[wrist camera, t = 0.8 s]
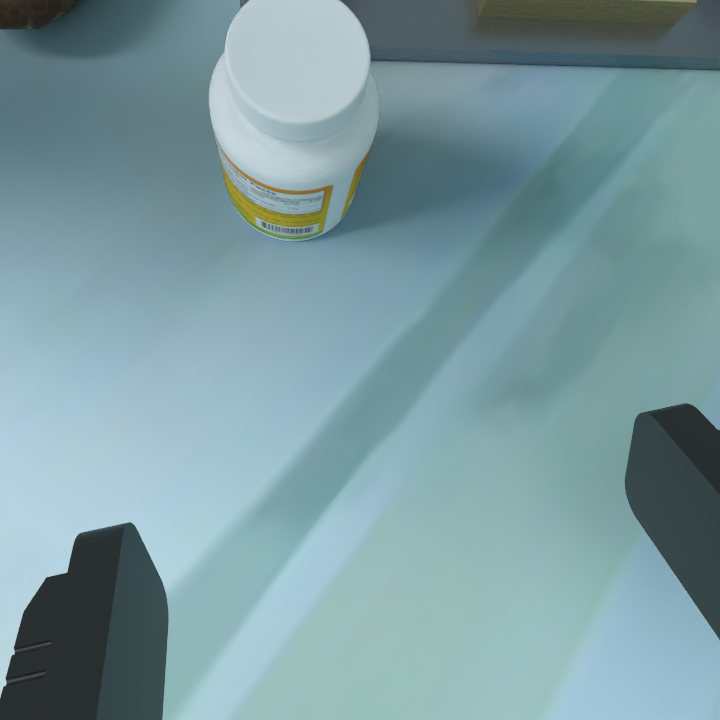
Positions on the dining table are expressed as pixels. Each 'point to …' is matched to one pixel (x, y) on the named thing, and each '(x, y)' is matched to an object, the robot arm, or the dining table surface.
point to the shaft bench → (544, 31)
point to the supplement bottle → (293, 114)
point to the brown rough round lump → (32, 12)
